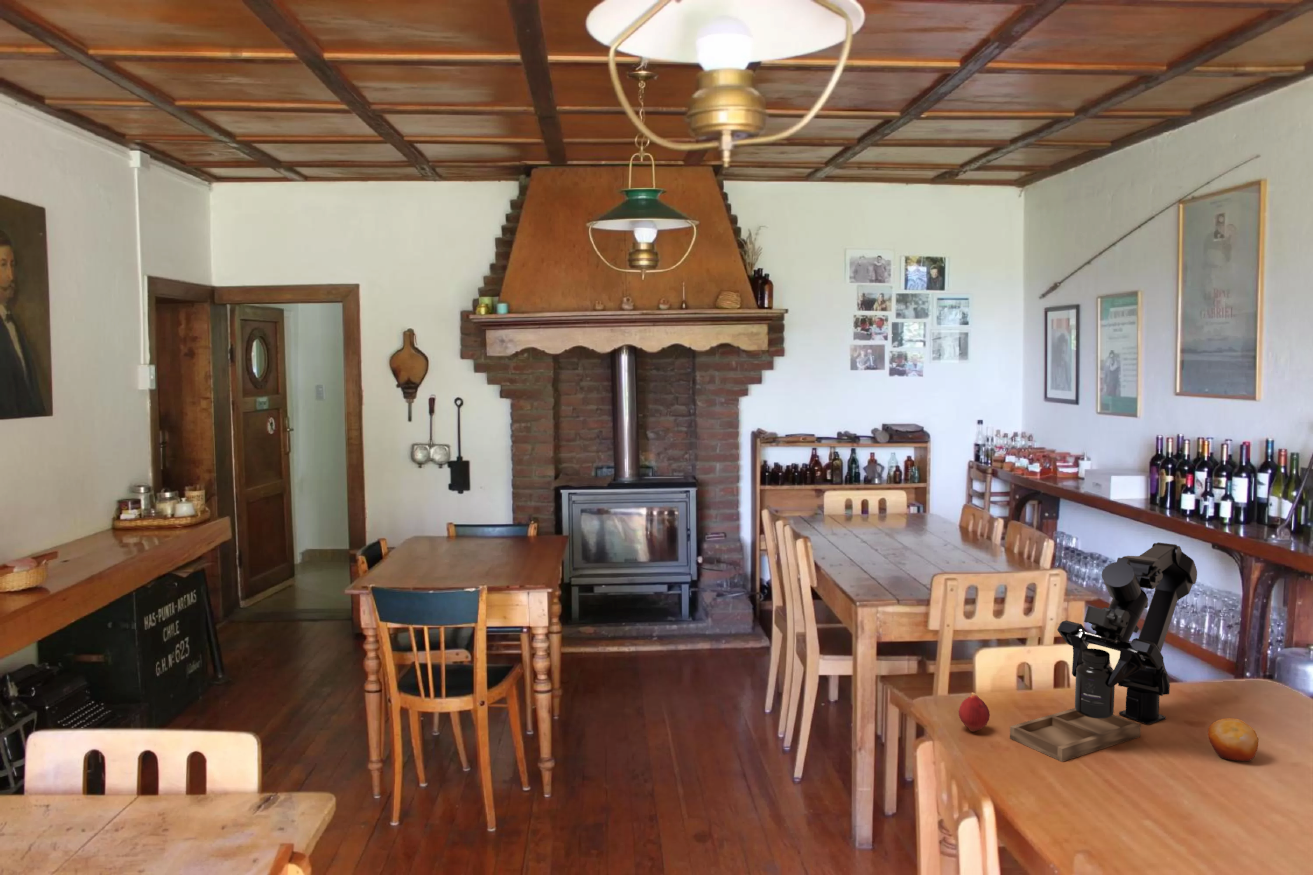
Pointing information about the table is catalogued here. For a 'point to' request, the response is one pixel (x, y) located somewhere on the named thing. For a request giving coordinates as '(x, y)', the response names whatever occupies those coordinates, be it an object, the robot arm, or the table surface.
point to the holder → (1073, 733)
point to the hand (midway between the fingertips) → (1091, 680)
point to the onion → (974, 713)
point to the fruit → (1233, 739)
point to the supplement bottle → (1094, 685)
